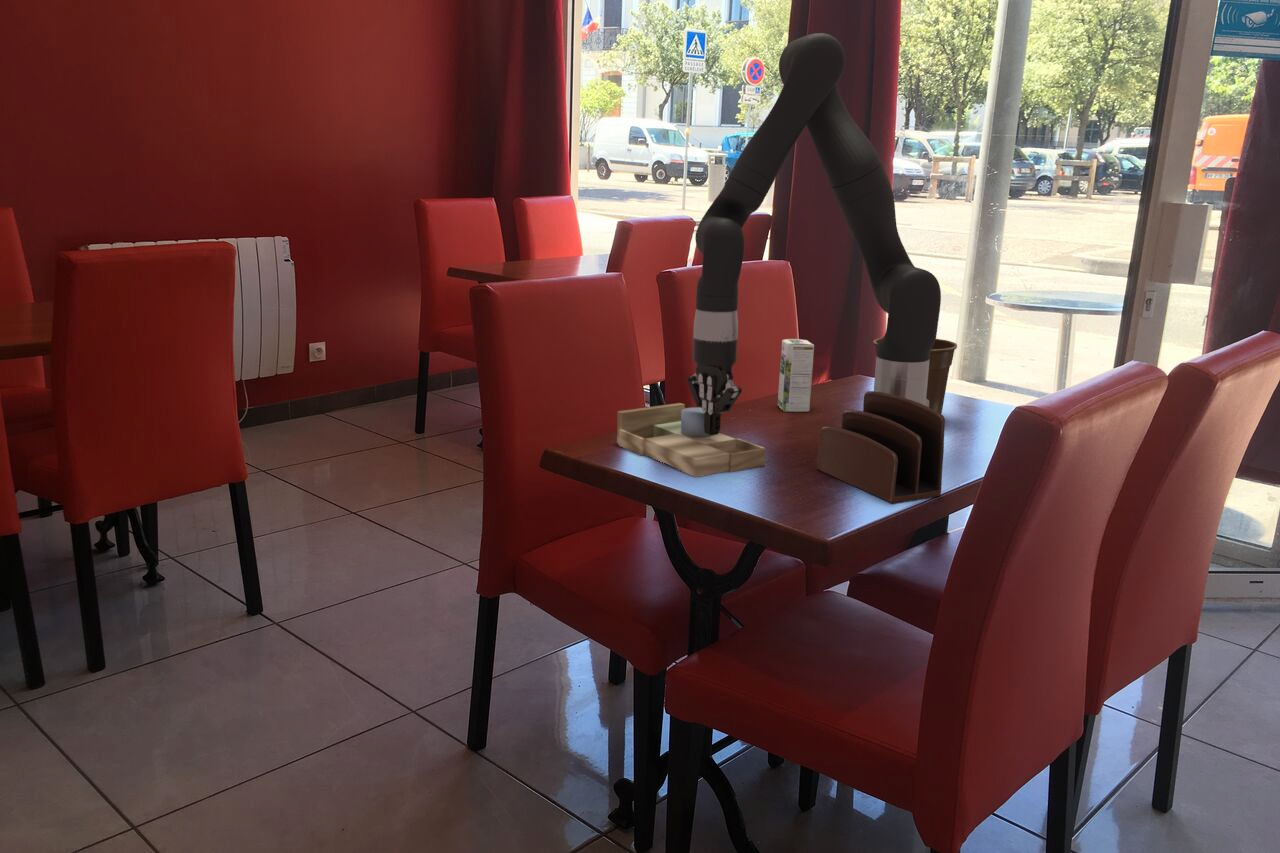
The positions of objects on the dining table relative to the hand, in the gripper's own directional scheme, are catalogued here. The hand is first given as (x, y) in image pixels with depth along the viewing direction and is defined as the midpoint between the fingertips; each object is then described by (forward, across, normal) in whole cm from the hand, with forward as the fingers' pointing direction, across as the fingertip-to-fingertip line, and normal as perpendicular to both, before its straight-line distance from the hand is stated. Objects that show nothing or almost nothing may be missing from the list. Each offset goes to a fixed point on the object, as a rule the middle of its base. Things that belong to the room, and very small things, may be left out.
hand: (711, 433), depth 181 cm
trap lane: (+4, +3, +3) cm, 6 cm away
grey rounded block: (+1, +5, -1) cm, 5 cm away
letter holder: (+4, -26, -14) cm, 30 cm away
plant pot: (+4, 0, -51) cm, 51 cm away
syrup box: (+4, +20, -38) cm, 42 cm away
